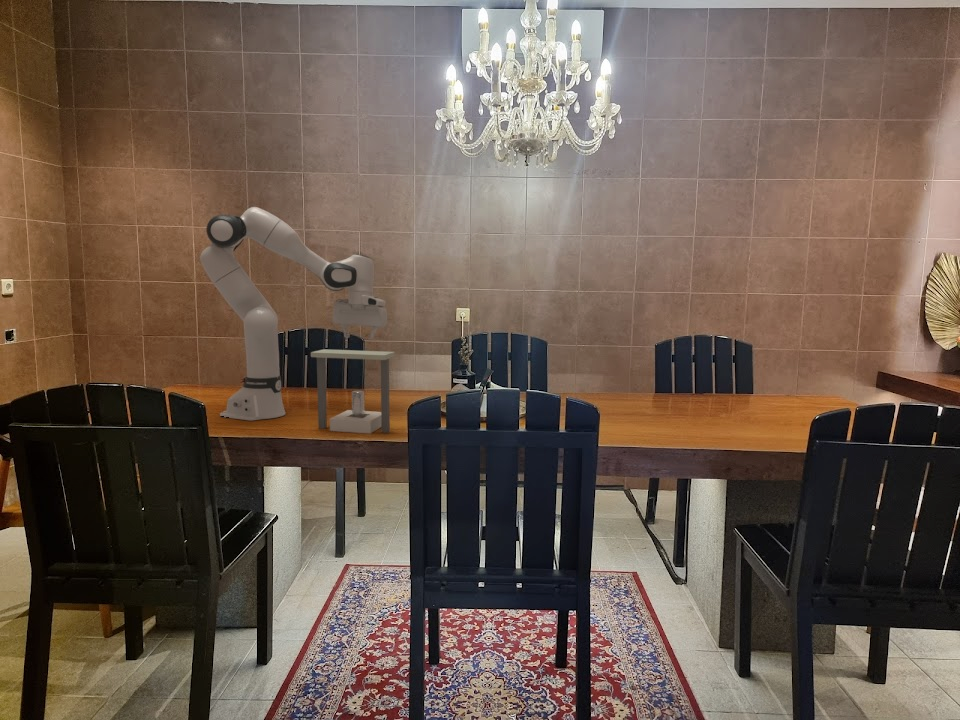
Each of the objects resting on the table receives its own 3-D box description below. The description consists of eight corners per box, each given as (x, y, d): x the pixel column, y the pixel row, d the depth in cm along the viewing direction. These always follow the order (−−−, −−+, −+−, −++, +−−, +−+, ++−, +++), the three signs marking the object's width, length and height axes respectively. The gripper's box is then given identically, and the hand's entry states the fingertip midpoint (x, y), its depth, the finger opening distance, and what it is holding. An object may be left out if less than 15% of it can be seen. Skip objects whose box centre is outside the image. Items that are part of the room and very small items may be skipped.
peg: (350, 428, 212) (349, 392, 210) (355, 425, 215) (354, 390, 214) (361, 429, 211) (361, 393, 209) (366, 426, 215) (366, 390, 213)
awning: (312, 430, 208) (310, 352, 205) (325, 424, 217) (323, 349, 213) (385, 435, 203) (384, 355, 199) (395, 428, 211) (394, 351, 208)
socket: (329, 430, 208) (329, 418, 207) (348, 421, 221) (347, 409, 221) (370, 433, 205) (370, 421, 204) (386, 423, 218) (386, 412, 218)
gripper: (330, 298, 232) (328, 336, 233) (383, 301, 227) (381, 340, 228) (338, 299, 238) (336, 336, 239) (390, 301, 233) (388, 339, 234)
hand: (358, 338), depth 233 cm, fingers open, 8 cm apart
